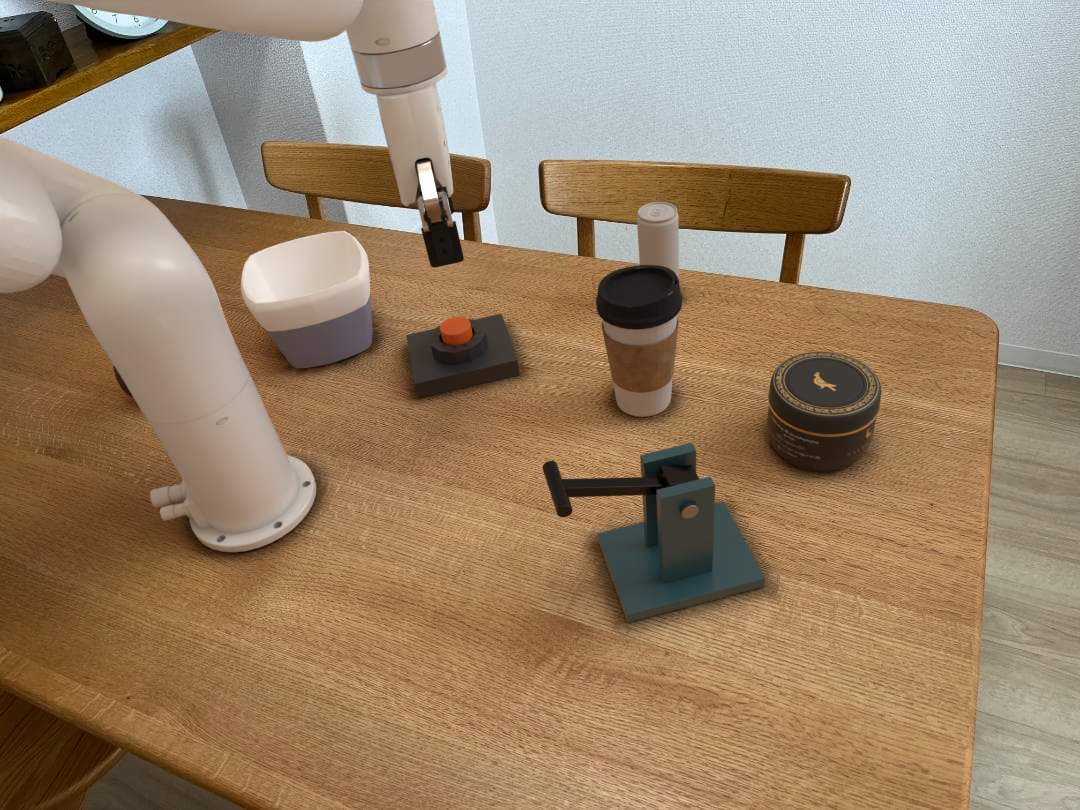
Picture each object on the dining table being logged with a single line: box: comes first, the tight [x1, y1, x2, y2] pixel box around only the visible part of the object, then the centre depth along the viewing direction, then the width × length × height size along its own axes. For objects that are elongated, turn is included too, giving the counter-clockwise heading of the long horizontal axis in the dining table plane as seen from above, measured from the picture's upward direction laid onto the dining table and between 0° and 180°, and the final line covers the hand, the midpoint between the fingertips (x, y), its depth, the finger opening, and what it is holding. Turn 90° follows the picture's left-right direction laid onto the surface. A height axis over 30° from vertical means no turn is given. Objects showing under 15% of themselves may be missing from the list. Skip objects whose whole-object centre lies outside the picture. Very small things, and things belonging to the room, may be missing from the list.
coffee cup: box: [595, 264, 683, 418], centre depth 83 cm, size 8×8×15 cm
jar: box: [766, 351, 882, 472], centre depth 77 cm, size 10×10×8 cm
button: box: [439, 316, 473, 346], centre depth 94 cm, size 4×4×2 cm
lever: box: [541, 460, 700, 518], centre depth 63 cm, size 12×5×2 cm, turn 103°
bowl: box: [240, 230, 374, 369], centre depth 100 cm, size 15×15×11 cm
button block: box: [406, 313, 521, 399], centre depth 95 cm, size 12×10×4 cm
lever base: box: [597, 442, 766, 624], centre depth 67 cm, size 12×9×12 cm
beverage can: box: [636, 201, 680, 280], centre depth 98 cm, size 5×5×12 cm
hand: (443, 238), depth 80 cm, fingers open, 9 cm apart
